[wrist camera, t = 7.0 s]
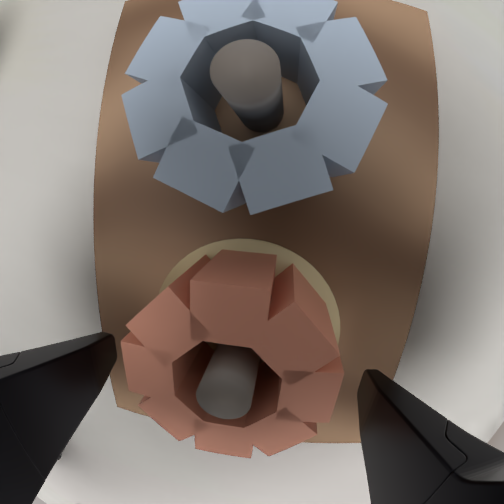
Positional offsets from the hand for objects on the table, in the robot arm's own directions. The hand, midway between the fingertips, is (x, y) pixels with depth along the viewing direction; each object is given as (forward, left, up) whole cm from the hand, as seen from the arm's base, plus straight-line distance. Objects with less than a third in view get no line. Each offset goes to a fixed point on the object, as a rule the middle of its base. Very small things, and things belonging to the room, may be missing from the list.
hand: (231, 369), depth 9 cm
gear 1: (+8, 0, -2) cm, 8 cm away
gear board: (+4, 0, -4) cm, 6 cm away
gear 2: (0, 0, -2) cm, 2 cm away
